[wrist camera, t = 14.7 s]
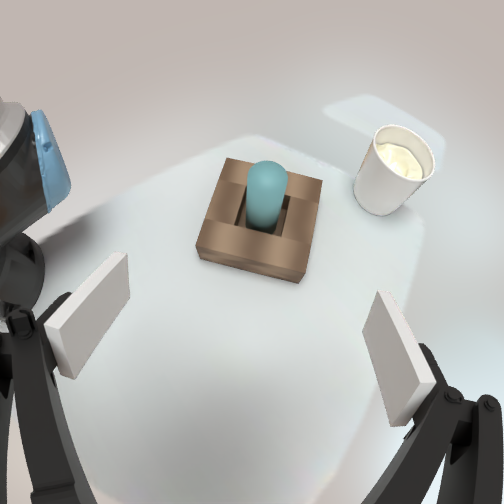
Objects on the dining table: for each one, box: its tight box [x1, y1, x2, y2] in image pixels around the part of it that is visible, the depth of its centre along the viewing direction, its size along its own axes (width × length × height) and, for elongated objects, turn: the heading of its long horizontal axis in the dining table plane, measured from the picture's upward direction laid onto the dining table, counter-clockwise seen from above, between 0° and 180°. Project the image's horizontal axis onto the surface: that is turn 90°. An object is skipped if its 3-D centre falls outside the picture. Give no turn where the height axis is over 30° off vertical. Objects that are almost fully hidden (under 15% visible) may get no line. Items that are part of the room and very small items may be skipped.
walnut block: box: [195, 158, 323, 283], centre depth 44 cm, size 14×14×5 cm
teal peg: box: [245, 161, 288, 235], centre depth 39 cm, size 4×4×12 cm
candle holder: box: [353, 125, 435, 216], centre depth 43 cm, size 10×10×12 cm
